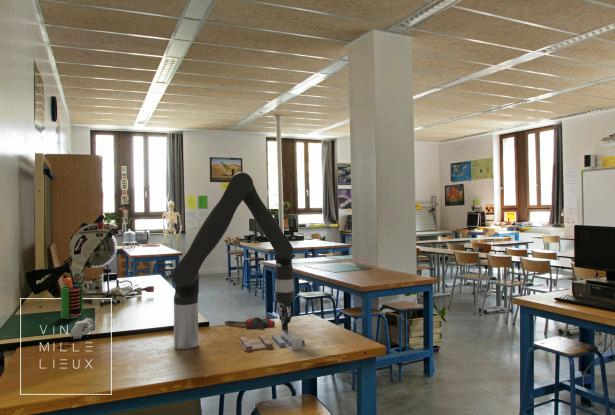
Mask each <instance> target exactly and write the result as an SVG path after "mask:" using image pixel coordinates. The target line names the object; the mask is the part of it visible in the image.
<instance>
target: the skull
mask: <svg viewBox="0 0 615 415" xmlns="http://www.w3.org/2000/svg"><path fill="white" fill-rule="evenodd" d="M93 323H94V321H93V318H90V317H85V318H84V319H83V320H80V321H79V320H78V321H76V322H74V326H73V327H72V328H71V330H70V333H69V336H70V337H71V338H72V336H73V339H72V340H75V339H76V340H78V339H79V340H81V338H82V337H83V336H84V337H85V335H87V333H89V332H90V333H91V331H92V324H93Z"/></svg>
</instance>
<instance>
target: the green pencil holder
mask: <svg viewBox="0 0 615 415" xmlns="http://www.w3.org/2000/svg"><path fill="white" fill-rule="evenodd" d="M63 283H67V285H64V286H61V287H60V318H61V317H63V318H69V317H75V316H80V315H81V314H82V315H83V308H84V307H83V304H84V303H83V298H84V297H83V296H84V295H83V291H84V290H83V288H84V287H83V285H82V284H73V280H72V278H71V277H65V278H63ZM69 314H75V315H69Z"/></svg>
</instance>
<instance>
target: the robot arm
mask: <svg viewBox="0 0 615 415" xmlns="http://www.w3.org/2000/svg"><path fill="white" fill-rule="evenodd" d="M226 186H227V187H226V188H225V190H224V192H223V195H222V196H221V198H220V199H219V201H218V202H217V203H216V204H215V206H214V207H213V209H211V211H210V212H209V214H208V215H207V216H206V218H205V219H204V221H203V223H202V224H201V226H200V228H199V229H198V231H197V233H196V234H195V236H194V238H193V241H192V243H191V245H190V247H189V248H188V250H187V251H186V253H185V254H184V256H183V257H182V258H181V260H180V261H179V262H178V263H177V265H176V266H175V267H174V269H173V270H172V274H171V277H172V278H171V279H172V281H173V282H172V283H174V285H175V290H174V291H175V292H174V296H173V312H174V313H173V345H174V346H173V347H174V350H189V349H194V348H196V347H199V293H200V288H199V287H200V282H199V281H200V273H199V271H200V269H201V267H202V265H203V263H204V262H205V260H206V259H207V258H208V256H209V255H210V254H211V252H212V251H214V249H215V248H216V247H217V245H218V244H219V243H220V241H221V240H222V238H223V237H224V235H225V233H226V232H227V230H228V228H229V226H230V224H231V222H232V220H233V217H234V215H235V213H236V211H237V209H238V207H239V206H240V204H241V203H242V202H243V203H244V204H245V205H246V207H247V208H248V210H249V212H250V213H251V215H252V217H253V219H254V220H255V222H256V224H257V226H258V228H259V230H261V232H262V234H263V235H264V237H265V238H266V239H267V241H269V244H270V245H271V247H272V248H273V251H274V252H275V253H274V254H275V255H274V256H275V282H274V287H275V288H274V289H275V291H274V298H275V302H276V303H278V304H279V305H278V306H277V312H278V317H279V320H280V323H281V330H285V329H289V324H290V323H291V321H292V316H293V312H292V310H291V305H290V303H293V302H294V300H295V297H294V296H295V294H294V292H295V288H294V287H295V286H294V269H293V264H292V262H293V257H292V256H293V253H294V247H293V245H292V243H291V242H290V241H289V239H288V238H287V237H286V235H285V234H284V232H283V231H282V229H281V226H280V225H279V224H278V222H277V220H276V219H275V217H274V216H273V215H272V213H271V211H269V209H268V208H267V206H266V205H265V203H264V202H263V201H262V198H261V197H260V196H259V194H258V191H257V189H256V186H255V185H254V180H253V177H251V176H250V174H248V173H246V172H243V171H239V172H236V173H235V174H233V175H232V176H231V177H230V180H229V182H228V184H227V185H226Z"/></svg>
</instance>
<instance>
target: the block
mask: <svg viewBox="0 0 615 415" xmlns="http://www.w3.org/2000/svg"><path fill="white" fill-rule="evenodd" d="M296 333H297V332H295V331H294V330H292V329H291V328H288V329H285V330H282V329H280V337H281V339H282V340H283V341H284V342H285V344H286V345H287V346H286V347H287V348H289V349H290V351H297V350H302V349H303V345H302V339H303V337H301V336H300V335H299V334H298V333H297V334H298V335H297V334H296Z"/></svg>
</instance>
